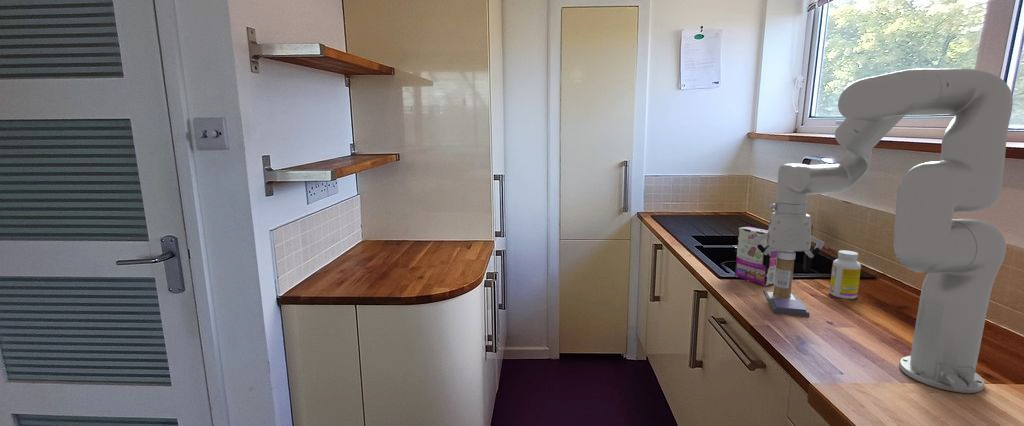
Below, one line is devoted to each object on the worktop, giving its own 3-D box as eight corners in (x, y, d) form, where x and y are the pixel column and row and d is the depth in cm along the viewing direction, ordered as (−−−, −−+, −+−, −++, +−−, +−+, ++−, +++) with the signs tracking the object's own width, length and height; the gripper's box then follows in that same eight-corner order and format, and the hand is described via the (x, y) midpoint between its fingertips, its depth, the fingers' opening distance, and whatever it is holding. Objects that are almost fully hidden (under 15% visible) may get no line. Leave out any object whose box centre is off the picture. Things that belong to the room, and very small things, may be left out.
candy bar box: (776, 284, 147) (781, 232, 144) (765, 287, 145) (770, 234, 142) (744, 274, 157) (748, 225, 154) (733, 276, 155) (738, 227, 152)
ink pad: (808, 316, 123) (809, 311, 123) (774, 313, 126) (774, 307, 126) (801, 305, 131) (802, 299, 130) (768, 302, 133) (769, 296, 133)
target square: (800, 304, 132) (800, 303, 132) (768, 300, 134) (768, 299, 134) (794, 294, 139) (794, 293, 139) (763, 291, 142) (763, 290, 142)
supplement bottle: (862, 297, 136) (868, 254, 133) (846, 301, 134) (852, 256, 131) (839, 290, 142) (844, 248, 140) (823, 293, 140) (828, 250, 137)
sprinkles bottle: (793, 297, 136) (799, 251, 133) (785, 301, 133) (790, 254, 131) (777, 292, 139) (782, 248, 137) (769, 295, 137) (774, 250, 134)
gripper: (758, 209, 131) (753, 270, 134) (831, 212, 125) (825, 275, 128) (754, 205, 138) (749, 263, 141) (823, 208, 132) (817, 267, 135)
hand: (785, 269), depth 134 cm, fingers open, 9 cm apart
